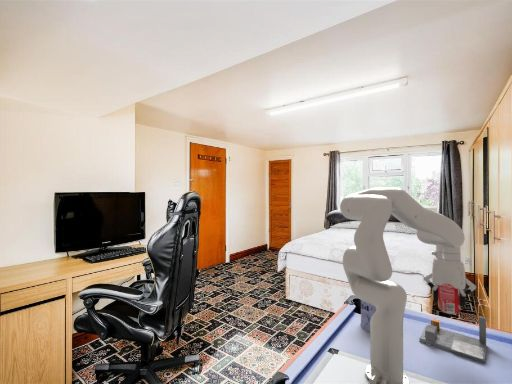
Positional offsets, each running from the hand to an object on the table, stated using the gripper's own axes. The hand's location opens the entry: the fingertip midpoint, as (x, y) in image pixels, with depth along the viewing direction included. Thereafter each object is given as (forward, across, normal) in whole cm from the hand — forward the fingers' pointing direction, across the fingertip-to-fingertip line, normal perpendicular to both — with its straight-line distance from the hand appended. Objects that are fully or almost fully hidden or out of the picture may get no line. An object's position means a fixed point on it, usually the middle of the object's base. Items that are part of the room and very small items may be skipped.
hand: (449, 302), depth 100 cm
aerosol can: (+18, -29, -1) cm, 34 cm away
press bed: (+19, 0, +7) cm, 20 cm away
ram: (+17, -6, +7) cm, 19 cm away
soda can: (+4, 0, 0) cm, 4 cm away
